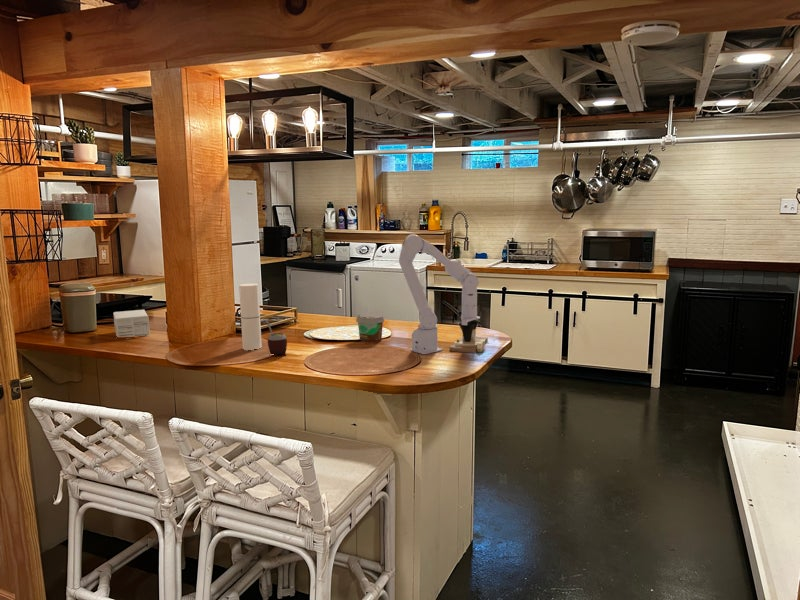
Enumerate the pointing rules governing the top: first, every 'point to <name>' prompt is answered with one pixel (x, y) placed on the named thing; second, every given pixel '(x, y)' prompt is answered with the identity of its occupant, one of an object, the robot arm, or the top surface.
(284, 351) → the mate gourd
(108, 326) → the top surface
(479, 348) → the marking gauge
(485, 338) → the walnut board
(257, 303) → the cylindrical container
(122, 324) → the supplement box
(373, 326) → the food container
